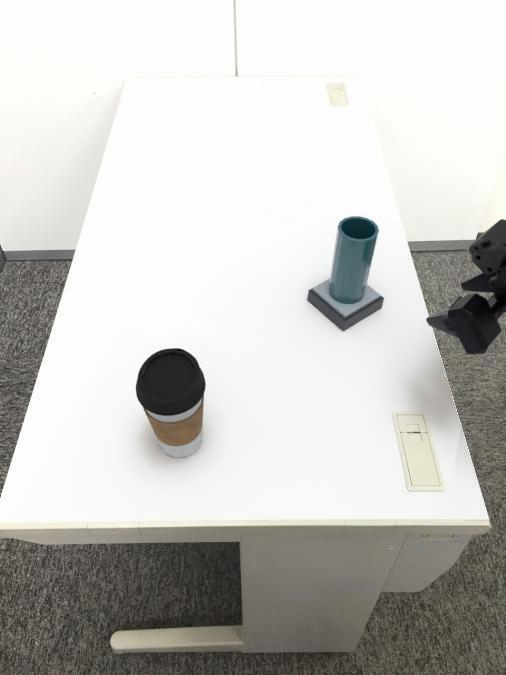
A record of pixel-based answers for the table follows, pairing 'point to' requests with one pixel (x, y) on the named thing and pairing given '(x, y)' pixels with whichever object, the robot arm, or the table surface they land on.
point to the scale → (344, 305)
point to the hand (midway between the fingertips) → (445, 303)
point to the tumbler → (352, 259)
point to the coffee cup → (173, 399)
